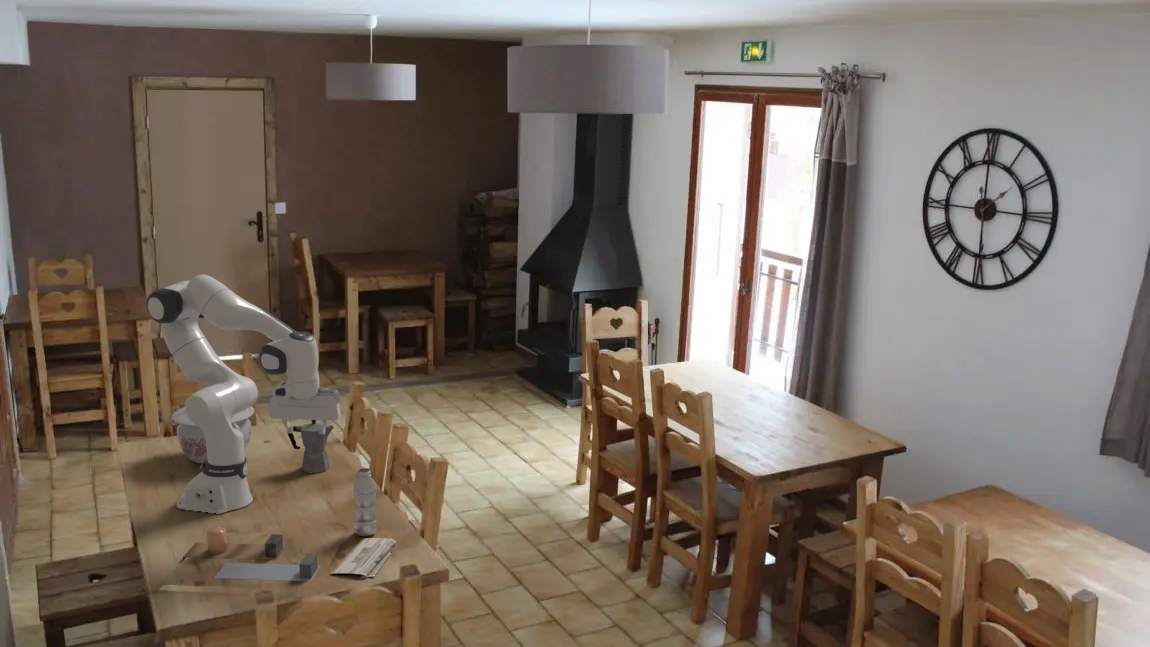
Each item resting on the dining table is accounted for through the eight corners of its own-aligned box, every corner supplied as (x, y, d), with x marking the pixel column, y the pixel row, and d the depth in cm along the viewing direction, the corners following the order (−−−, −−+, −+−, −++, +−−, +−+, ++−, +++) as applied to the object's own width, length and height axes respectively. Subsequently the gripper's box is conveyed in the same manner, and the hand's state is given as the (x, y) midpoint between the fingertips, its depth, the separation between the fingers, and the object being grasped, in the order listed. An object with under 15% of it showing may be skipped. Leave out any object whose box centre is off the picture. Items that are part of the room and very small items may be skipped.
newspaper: (372, 582, 273) (371, 573, 273) (330, 581, 276) (329, 572, 275) (403, 544, 295) (402, 536, 294) (364, 544, 298) (362, 536, 297)
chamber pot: (186, 445, 370) (182, 390, 365) (263, 443, 373) (260, 389, 368) (164, 474, 343) (159, 415, 338) (248, 472, 346) (245, 414, 341)
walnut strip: (183, 560, 282) (181, 543, 280) (196, 546, 290) (194, 529, 289) (276, 563, 281) (275, 546, 280) (286, 549, 290) (285, 532, 289)
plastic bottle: (355, 529, 303) (353, 466, 299) (378, 529, 304) (377, 466, 299) (352, 539, 297) (350, 474, 292) (376, 538, 298) (374, 474, 293)
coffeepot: (335, 462, 356) (333, 413, 352) (335, 472, 347) (333, 422, 343) (289, 465, 353) (287, 415, 348) (288, 475, 344) (286, 424, 340)
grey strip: (214, 582, 270) (212, 564, 269) (226, 566, 279) (225, 549, 278) (311, 585, 269) (310, 567, 268) (321, 569, 278) (320, 551, 277)
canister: (205, 554, 283) (204, 534, 282) (212, 546, 288) (210, 526, 287) (223, 554, 283) (221, 534, 282) (229, 546, 288) (228, 527, 287)
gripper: (342, 385, 299) (343, 430, 302) (272, 383, 299) (275, 428, 302) (336, 392, 292) (338, 437, 296) (266, 390, 293) (268, 435, 296)
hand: (306, 433), depth 299 cm, fingers open, 8 cm apart
